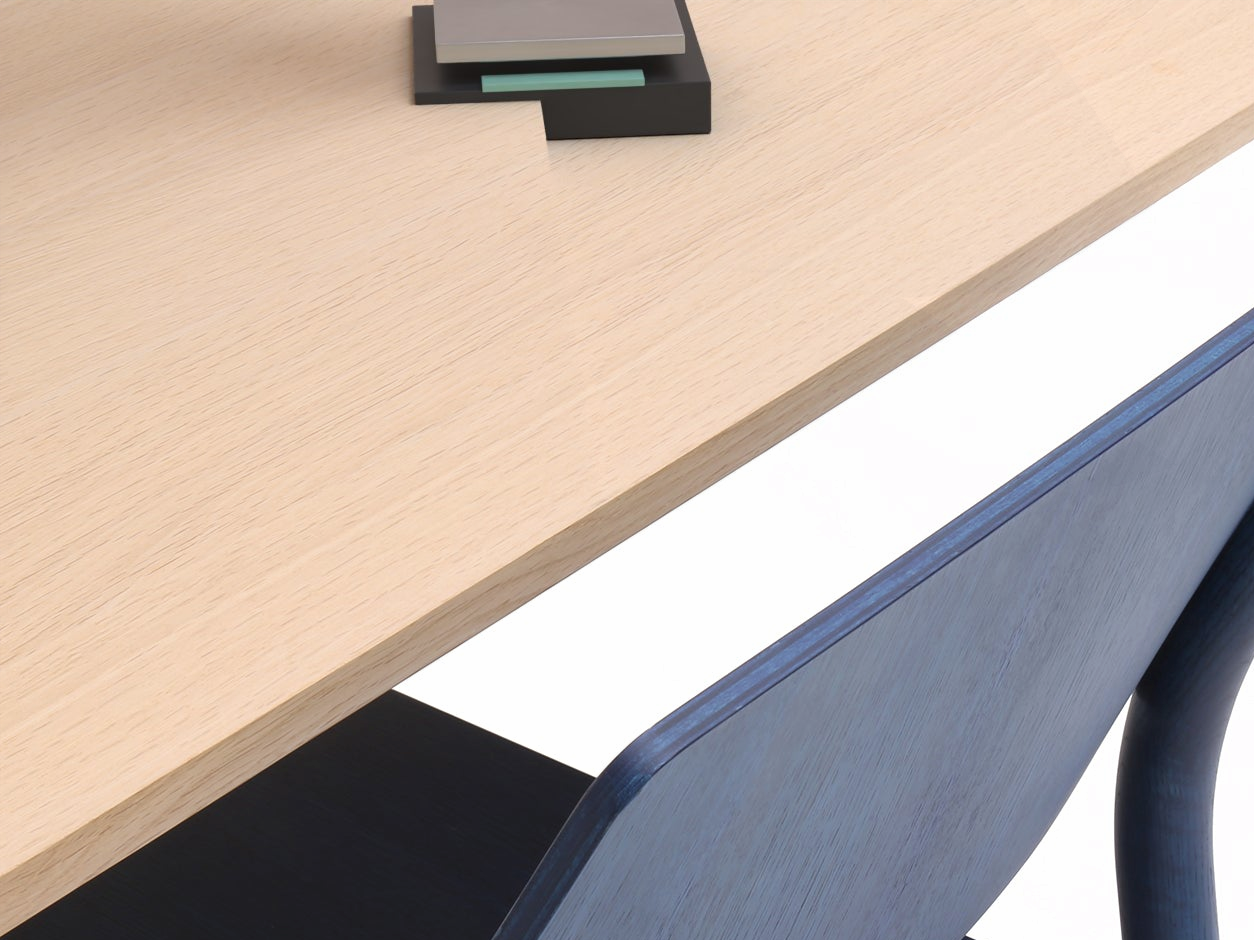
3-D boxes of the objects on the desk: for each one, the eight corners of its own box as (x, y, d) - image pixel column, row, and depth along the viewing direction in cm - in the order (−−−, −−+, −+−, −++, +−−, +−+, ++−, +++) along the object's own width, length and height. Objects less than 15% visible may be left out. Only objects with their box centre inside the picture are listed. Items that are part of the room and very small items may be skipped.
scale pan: (436, 65, 86) (435, 43, 86) (433, -11, 93) (431, -32, 93) (685, 55, 87) (685, 34, 87) (662, -20, 94) (662, -39, 94)
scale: (418, 146, 87) (413, 87, 86) (415, 54, 95) (411, -2, 94) (711, 134, 88) (711, 75, 87) (684, 43, 96) (683, -11, 95)
